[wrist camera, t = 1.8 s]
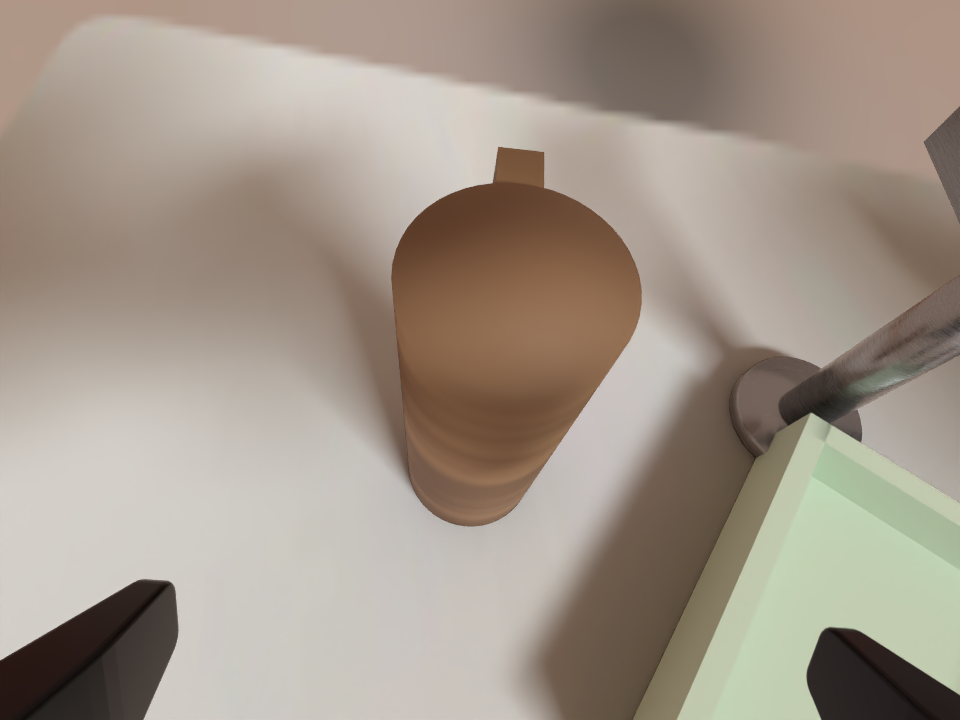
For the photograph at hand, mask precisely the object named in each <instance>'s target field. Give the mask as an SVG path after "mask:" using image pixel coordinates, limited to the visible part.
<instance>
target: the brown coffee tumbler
mask: <svg viewBox="0 0 960 720" xmlns="http://www.w3.org/2000/svg"><path fill="white" fill-rule="evenodd" d="M391 278H392V291H393V302H394V312H395V323H396V334H397V345H398V356H399V367H400V377H401V388H402V399H403V410H404V421H405V432H406V442H407V453H408V464H409V475H410V479H411V483H412V486H413V489H414V491H415V493H416V495H417V496H418V498H419V499H420V501H421V502H422V504H423V505H424V506H425V507H426V508H427V509H428V510H429V511H430V512H432V513H433V514H434V515H436V516H437V517H439V518H441V519H442V520H445V521H447V522H449V523H452V524H456V525H461V526H481V525H485V524H489V523H492V522H494V521H497V520H499V519H501V518H502V517H504V516H506V515H507V514H508V513H509V512H511V511H512V510H513V509H514V508H515V507H516V506H517V504H518V503H519V502H520V500H521V499H522V497H523V496H524V494H525V493H526V492H527V490H528V489H529V487H530V486H531V484H532V483H533V481H534V480H535V478H536V477H537V475H538V474H539V473H540V471H541V470H542V468H543V467H544V465H545V464H546V462H547V461H548V459H549V458H550V456H551V455H552V454H553V452H554V451H555V449H556V448H557V446H558V445H559V443H560V442H561V440H562V439H563V437H564V436H565V435H566V433H567V432H568V430H569V429H570V427H571V426H572V424H573V423H574V421H575V420H576V418H577V417H578V416H579V414H580V413H581V411H582V410H583V408H584V407H585V405H586V404H587V402H588V401H589V400H590V398H591V397H592V395H593V394H594V392H595V391H596V389H597V388H598V386H599V385H600V383H601V382H602V381H603V379H604V378H605V376H606V375H607V373H608V372H609V370H610V369H611V367H612V366H613V364H614V363H615V362H616V360H617V359H618V357H619V356H620V354H621V353H622V351H623V350H624V348H625V347H626V345H627V344H628V343H629V341H630V339H631V337H632V335H633V333H634V331H635V329H636V326H637V323H638V320H639V316H640V310H641V303H642V300H641V284H640V278H639V274H638V271H637V268H636V265H635V262H634V260H633V258H632V256H631V254H630V252H629V250H628V248H627V247H626V245H625V244H624V242H623V241H622V239H621V238H620V237H619V235H618V234H617V233H616V232H615V231H614V229H613V228H612V227H611V226H610V225H609V224H608V223H607V222H606V221H605V220H603V219H602V218H601V217H600V216H599V215H597V214H596V213H595V212H593V211H592V210H591V209H589V208H588V207H586V206H584V205H583V204H581V203H579V202H578V201H576V200H574V199H572V198H570V197H567V196H565V195H563V194H560V193H557V192H555V191H552V190H549V189H545V188H544V152H538V151H529V150H520V149H512V148H503V147H498V152H497V159H496V166H495V172H494V179H493V183H492V184H485V185H478V186H474V187H469V188H465V189H462V190H460V191H457V192H454V193H451V194H449V195H447V196H445V197H443V198H441V199H439V200H438V201H436V202H435V203H433V204H432V205H430V206H429V207H427V208H426V209H425V210H424V211H423V212H422V213H420V214H419V215H418V216H417V217H416V218H415V219H414V221H413V222H412V223H411V224H410V225H409V227H408V228H407V230H406V231H405V233H404V234H403V236H402V238H401V240H400V242H399V244H398V247H397V249H396V252H395V256H394V260H393V264H392V277H391Z"/></svg>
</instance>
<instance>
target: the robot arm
mask: <svg viewBox="0 0 960 720" xmlns="http://www.w3.org/2000/svg"><path fill="white" fill-rule="evenodd" d="M177 638H178V616H177V604H176V592H175V587H174V585H173V584H172V583H171V582H169V581H164V580H150V579H142V580H138V581H136V582H134V583H132V584H130V585H128V586H127V587H125V588H123V589H122V590H120V591H118V592H116V593H115V594H113V595H111V596H110V597H108V598H106V599H104V600H103V601H101V602H99V603H98V604H96V605H94V606H92V607H91V608H89V609H87V610H86V611H84V612H82V613H80V614H79V615H77V616H75V617H74V618H72V619H70V620H68V621H67V622H65V623H63V624H62V625H60V626H58V627H57V628H55V629H53V630H51V631H50V632H48V633H46V634H45V635H43V636H41V637H39V638H38V639H36V640H34V641H33V642H31V643H29V644H27V645H26V646H24V647H22V648H21V649H19V650H17V651H15V652H14V653H12V654H10V655H9V656H7V657H5V658H4V659H2V660H0V720H143V719H144V717H145V715H146V713H147V710H148V708H149V706H150V704H151V701H152V699H153V697H154V694H155V692H156V690H157V688H158V685H159V683H160V681H161V679H162V676H163V674H164V672H165V669H166V667H167V665H168V663H169V660H170V658H171V656H172V654H173V651H174V649H175V646H176V643H177ZM806 678H807V685H808V689H809V692H810V694H811V697H812V699H813V701H814V704H815V706H816V708H817V711H818V713H819V716H820V718H821V720H960V695H959V694H958V693H956V692H954V691H953V690H951V689H950V688H948V687H947V686H945V685H944V684H942V683H940V682H939V681H937V680H936V679H934V678H933V677H931V676H929V675H928V674H926V673H925V672H923V671H922V670H920V669H919V668H917V667H915V666H914V665H912V664H911V663H909V662H908V661H906V660H904V659H903V658H901V657H900V656H898V655H897V654H895V653H894V652H892V651H890V650H889V649H887V648H886V647H884V646H883V645H881V644H879V643H878V642H876V641H875V640H873V639H872V638H870V637H869V636H867V635H865V634H864V633H862V632H861V631H859V630H856V629H852V628H840V627H828V628H825V629H824V630H823V631H822V632H821V634H820V636H819V638H818V641H817V644H816V646H815V649H814V652H813V654H812V657H811V660H810V662H809V665H808V668H807V673H806Z"/></svg>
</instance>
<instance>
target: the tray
mask: <svg viewBox="0 0 960 720" xmlns="http://www.w3.org/2000/svg"><path fill="white" fill-rule="evenodd" d="M828 627H840V628H852V629H856V630H859V631H861V632H862V633H864V634H865V635H867V636H869V637H870V638H872V639H873V640H875V641H876V642H878V643H879V644H881V645H883V646H884V647H886V648H887V649H889V650H890V651H892V652H894V653H895V654H897V655H898V656H900V657H901V658H903V659H904V660H906V661H908V662H909V663H911V664H912V665H914V666H915V667H917V668H919V669H920V670H922V671H923V672H925V673H926V674H928V675H929V676H931V677H933V678H934V679H936V680H937V681H939V682H940V683H942V684H944V685H945V686H947V687H948V688H950V689H951V690H953V691H954V692H956V693H958V694H959V695H960V503H958V502H957V501H955V500H954V499H952V498H950V497H949V496H947V495H945V494H944V493H942V492H940V491H939V490H937V489H935V488H934V487H932V486H931V485H929V484H927V483H926V482H924V481H922V480H921V479H919V478H917V477H916V476H914V475H913V474H911V473H909V472H908V471H906V470H904V469H903V468H901V467H899V466H898V465H896V464H895V463H893V462H891V461H890V460H888V459H886V458H885V457H883V456H881V455H880V454H878V453H877V452H875V451H873V450H872V449H870V448H868V447H867V446H865V445H863V444H862V443H860V442H859V441H857V440H855V439H854V438H852V437H850V436H849V435H847V434H845V433H844V432H842V431H841V430H839V429H837V428H836V427H834V426H832V425H831V424H829V423H827V422H826V421H824V420H822V419H821V418H819V417H818V416H816V415H814V414H813V413H809V414H808V415H806V416H804V417H803V418H801V419H799V420H797V421H796V422H794V423H792V424H791V425H789V426H787V427H785V428H784V429H782V430H780V431H779V432H777V433H776V434H775V436H774V438H773V441H772V443H771V445H770V447H769V449H768V451H767V452H766V453H764V454H762V455H760V456H759V457H757V458H756V459H755V461H754V463H753V466H752V468H751V470H750V472H749V474H748V476H747V478H746V480H745V483H744V485H743V487H742V489H741V491H740V493H739V495H738V497H737V499H736V502H735V504H734V506H733V508H732V510H731V512H730V514H729V516H728V519H727V521H726V523H725V525H724V527H723V529H722V531H721V533H720V536H719V538H718V540H717V542H716V544H715V546H714V548H713V550H712V553H711V555H710V557H709V559H708V561H707V563H706V565H705V567H704V570H703V572H702V574H701V576H700V578H699V580H698V582H697V584H696V586H695V589H694V591H693V593H692V595H691V597H690V599H689V601H688V603H687V606H686V608H685V610H684V612H683V614H682V616H681V618H680V620H679V623H678V625H677V627H676V629H675V631H674V633H673V635H672V637H671V640H670V642H669V644H668V646H667V648H666V650H665V652H664V654H663V657H662V659H661V661H660V663H659V665H658V667H657V669H656V671H655V673H654V676H653V678H652V680H651V682H650V684H649V686H648V688H647V690H646V693H645V695H644V697H643V699H642V701H641V703H640V705H639V707H638V710H637V712H636V714H635V716H634V718H633V720H821V718H820V716H819V713H818V711H817V708H816V706H815V704H814V701H813V699H812V697H811V694H810V692H809V689H808V685H807V678H806V673H807V668H808V665H809V662H810V660H811V657H812V654H813V652H814V649H815V646H816V644H817V641H818V638H819V636H820V634H821V632H822V631H823V630H824V629H825V628H828Z"/></svg>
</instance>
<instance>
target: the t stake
mask: <svg viewBox="0 0 960 720" xmlns="http://www.w3.org/2000/svg"><path fill="white" fill-rule="evenodd" d="M924 144H925V146H926V148H927V150H928V153H929V155H930V157H931V159H932V162H933V164H934V166H935V168H936V171H937V173H938V175H939V177H940V180H941V182H942V184H943V186H944V189H945V191H946V193H947V195H948V198H949V200H950V202H951V205H952V207H953V209H954V211H955V214H956V216H957V218H958V220H959V223H960V107H959V108H958V109H957V110H956V111H955V112H954V113H953V114H952V115H951V116H950V117H949V118H948V119H947V120H946V121H945V122H944V123H943V124H942V125H940V127H938V129H937V130H936V131H935V132H933V133H932V135H930V136H929V137H928V139H927V140H926V141H924ZM958 355H960V275H959V276H957V277H956V278H954V279H953V280H952V281H950V282H949V283H947V284H946V285H944V286H943V287H941V288H940V289H938V290H937V291H935V292H934V293H932V294H931V295H929V296H928V297H927V298H925V299H924V300H922V301H921V302H919V303H918V304H916V305H915V306H913V307H912V308H910V309H909V310H907V311H906V312H904V313H903V314H902V315H900V316H899V317H897V318H896V319H894V320H893V321H891V322H890V323H888V324H887V325H885V326H884V327H882V328H881V329H879V330H878V331H877V332H875V333H874V334H872V335H871V336H869V337H868V338H866V339H865V340H863V341H862V342H860V343H859V344H857V345H856V346H854V347H853V348H852V349H850V350H849V351H847V352H846V353H844V354H843V355H841V356H840V357H838V358H837V359H835V360H834V361H832V362H831V363H829V364H828V365H827V366H825V367H824V368H822V369H821V368H819V367H817V366H815V365H813V364H811V363H809V362H806V361H804V360H800V359H797V358H791V357H773V358H769V359H766V360H763V361H761V362H759V363H757V364H756V365H754V366H753V367H752V368H751V369H749V370H748V371H747V372H746V373H745V374H743V375H742V376H741V377H740V378H739V379H738V381H737V382H736V384H735V385H734V387H733V390H732V392H731V397H730V414H731V419H732V422H733V425H734V428H735V430H736V432H737V434H738V436H739V438H740V439H741V441H742V443H743V444H744V445H745V446H746V448H747V449H748V450H749V451H750V452H751V453H752V454H753V455H754V456H755V457H756V458H757V457H759V456H760V455H762V454H764V453H766V452H767V451H768V449H769V447H770V445H771V443H772V441H773V438H774V436H775V434H776V433H777V432H779V431H780V430H782V429H784V428H785V427H787V426H789V425H791V424H792V423H794V422H796V421H797V420H799V419H801V418H803V417H804V416H806V415H808V414H809V413H813V414H814V415H816V416H818V417H819V418H821V419H822V420H824V421H826V422H827V423H829V424H831V425H832V426H834V427H836V428H837V429H839V430H841V431H842V432H844V433H845V434H847V435H849V436H850V437H852V438H854V439H855V440H857V441H859V442H860V443H861V439H862V426H861V421H860V417H859V414H858V411H857V409H858V408H860V407H862V406H864V405H866V404H868V403H870V402H872V401H873V400H875V399H877V398H879V397H881V396H883V395H885V394H887V393H889V392H890V391H892V390H894V389H896V388H898V387H900V386H902V385H904V384H905V383H907V382H909V381H911V380H913V379H915V378H917V377H919V376H921V375H922V374H924V373H926V372H928V371H930V370H932V369H934V368H936V367H937V366H939V365H941V364H943V363H945V362H947V361H949V360H951V359H953V358H954V357H956V356H958Z"/></svg>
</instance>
